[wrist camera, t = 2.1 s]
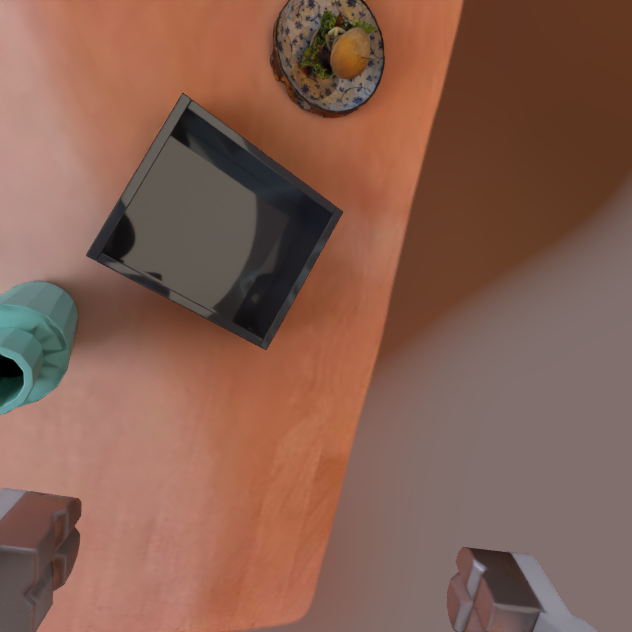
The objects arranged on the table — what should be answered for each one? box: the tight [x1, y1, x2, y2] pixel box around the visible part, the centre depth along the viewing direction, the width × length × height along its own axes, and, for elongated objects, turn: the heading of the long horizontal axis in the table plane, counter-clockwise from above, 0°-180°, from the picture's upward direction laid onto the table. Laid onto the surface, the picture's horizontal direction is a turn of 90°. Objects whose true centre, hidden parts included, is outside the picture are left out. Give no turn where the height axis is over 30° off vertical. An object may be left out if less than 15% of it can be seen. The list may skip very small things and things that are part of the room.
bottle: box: [0, 281, 78, 414], centre depth 32 cm, size 6×6×20 cm
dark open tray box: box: [86, 93, 343, 350], centre depth 43 cm, size 17×15×6 cm
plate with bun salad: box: [270, 0, 385, 118], centre depth 44 cm, size 12×12×8 cm
